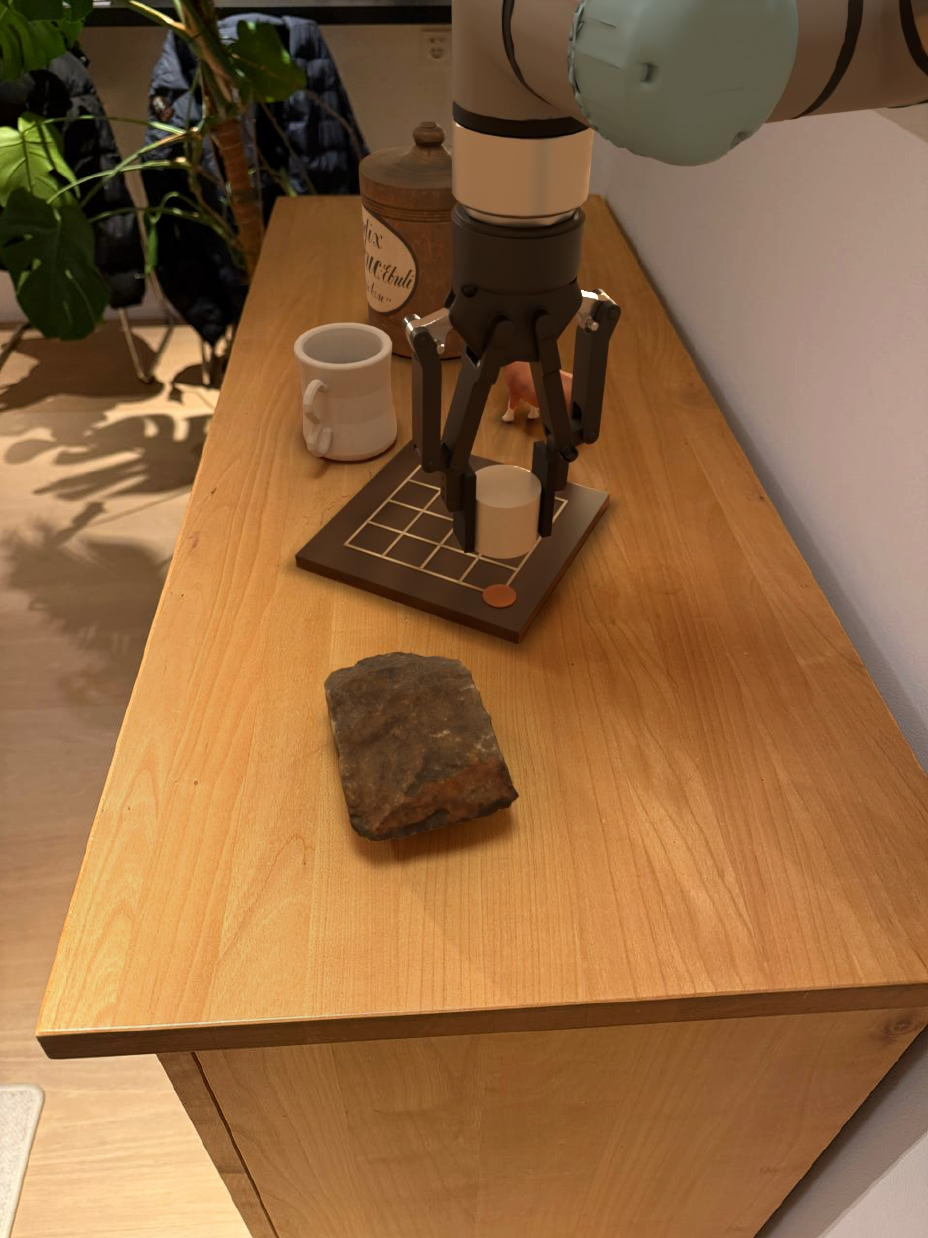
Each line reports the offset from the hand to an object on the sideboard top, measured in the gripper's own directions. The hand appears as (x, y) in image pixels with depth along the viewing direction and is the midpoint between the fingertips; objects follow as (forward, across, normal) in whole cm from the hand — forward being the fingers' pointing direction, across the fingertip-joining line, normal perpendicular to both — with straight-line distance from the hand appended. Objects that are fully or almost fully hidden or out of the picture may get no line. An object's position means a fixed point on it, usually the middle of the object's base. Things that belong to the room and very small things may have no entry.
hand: (502, 533), depth 67 cm
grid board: (+7, 0, -10) cm, 12 cm away
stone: (+7, +11, +13) cm, 18 cm away
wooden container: (+8, -9, -47) cm, 49 cm away
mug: (+8, +6, -26) cm, 28 cm away
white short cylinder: (0, 0, 0) cm, 0 cm away
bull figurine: (+8, -13, -24) cm, 28 cm away
